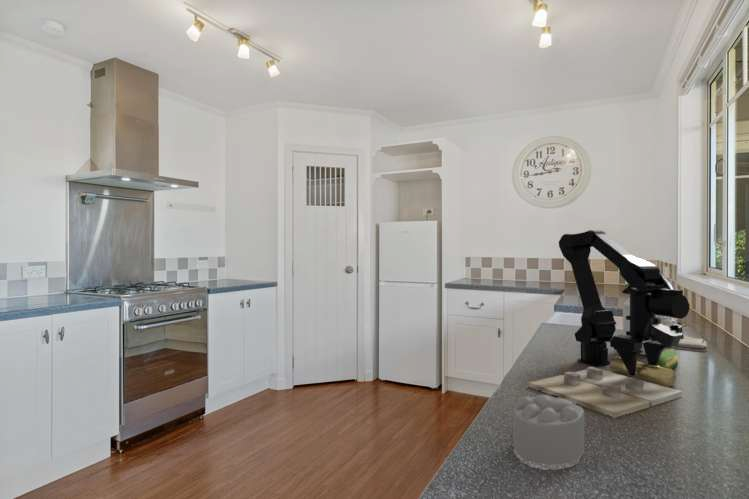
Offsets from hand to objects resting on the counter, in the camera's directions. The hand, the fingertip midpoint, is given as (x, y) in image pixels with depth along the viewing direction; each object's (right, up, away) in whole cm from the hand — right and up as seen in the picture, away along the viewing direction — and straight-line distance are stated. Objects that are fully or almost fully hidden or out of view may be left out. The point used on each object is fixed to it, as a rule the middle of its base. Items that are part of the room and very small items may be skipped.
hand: (642, 372), depth 113 cm
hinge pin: (0, -2, 0) cm, 2 cm away
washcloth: (+33, -1, +36) cm, 49 cm away
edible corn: (+12, -2, +9) cm, 15 cm away
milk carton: (+15, -1, +26) cm, 31 cm away
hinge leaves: (-15, -2, -9) cm, 18 cm away
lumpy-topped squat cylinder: (-40, -3, -39) cm, 56 cm away
